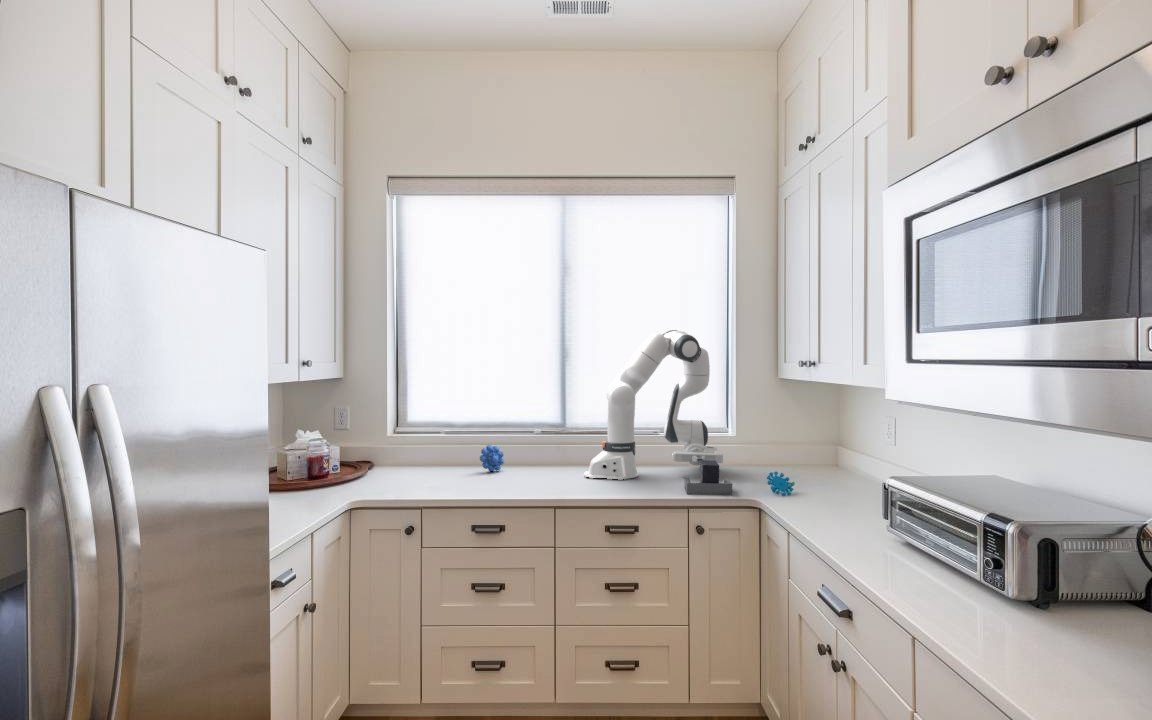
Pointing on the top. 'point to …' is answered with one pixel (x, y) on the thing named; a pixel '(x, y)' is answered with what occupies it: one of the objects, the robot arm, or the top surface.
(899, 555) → the top surface
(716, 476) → the small box
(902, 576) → the top surface
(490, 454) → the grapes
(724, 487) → the centring channel
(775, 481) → the blue virus model
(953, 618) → the top surface
